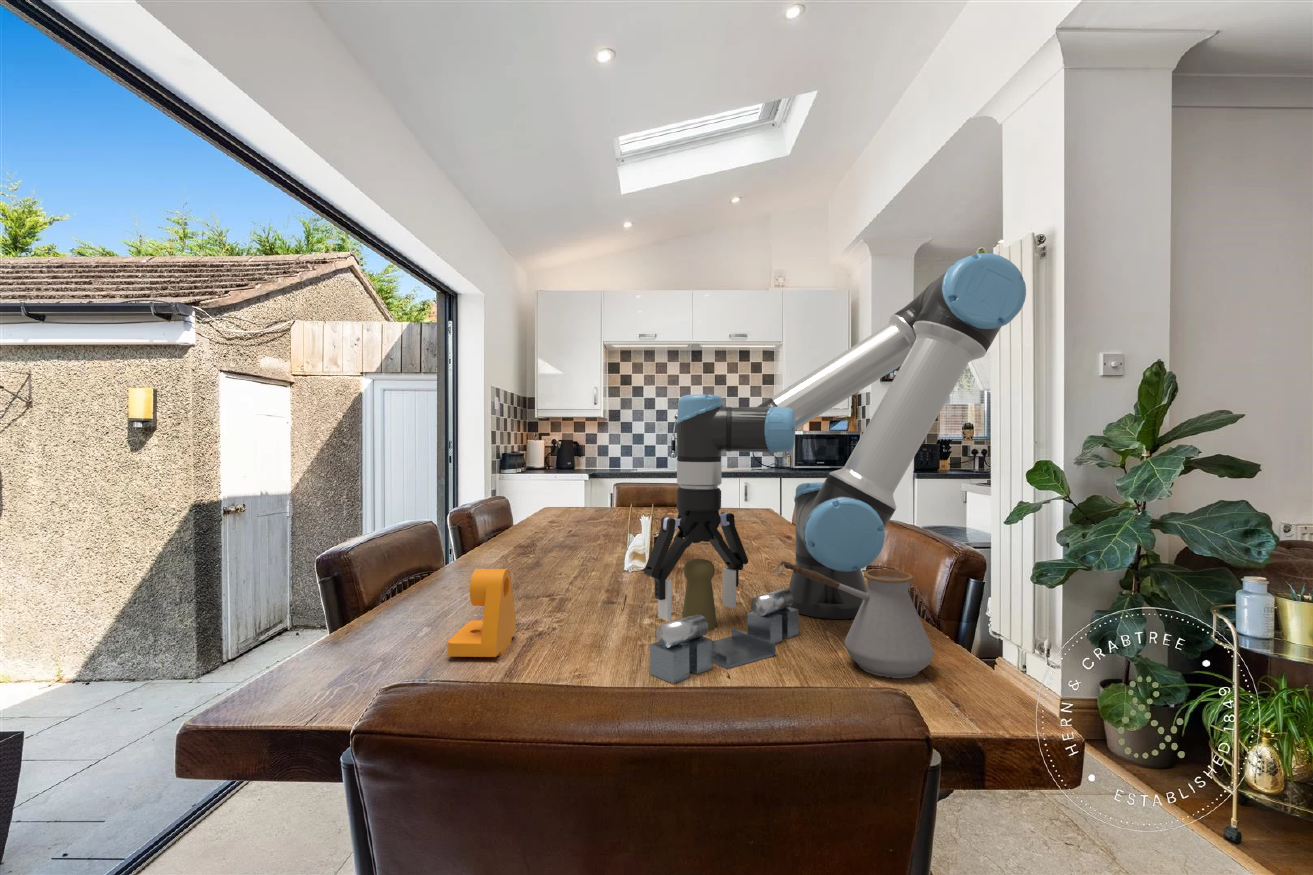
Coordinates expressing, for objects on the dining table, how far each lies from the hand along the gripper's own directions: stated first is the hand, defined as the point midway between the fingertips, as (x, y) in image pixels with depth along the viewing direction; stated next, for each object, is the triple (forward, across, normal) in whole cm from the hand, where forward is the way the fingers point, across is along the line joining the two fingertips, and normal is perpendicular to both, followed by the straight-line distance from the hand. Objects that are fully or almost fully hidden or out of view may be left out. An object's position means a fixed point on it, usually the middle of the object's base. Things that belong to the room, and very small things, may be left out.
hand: (698, 612), depth 103 cm
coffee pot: (+2, -6, +27) cm, 28 cm away
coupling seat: (+2, +4, +13) cm, 14 cm away
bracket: (+3, +34, -9) cm, 35 cm away
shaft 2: (+2, -6, +11) cm, 13 cm away
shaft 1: (+2, +14, +15) cm, 20 cm away
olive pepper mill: (+2, 0, 0) cm, 2 cm away
